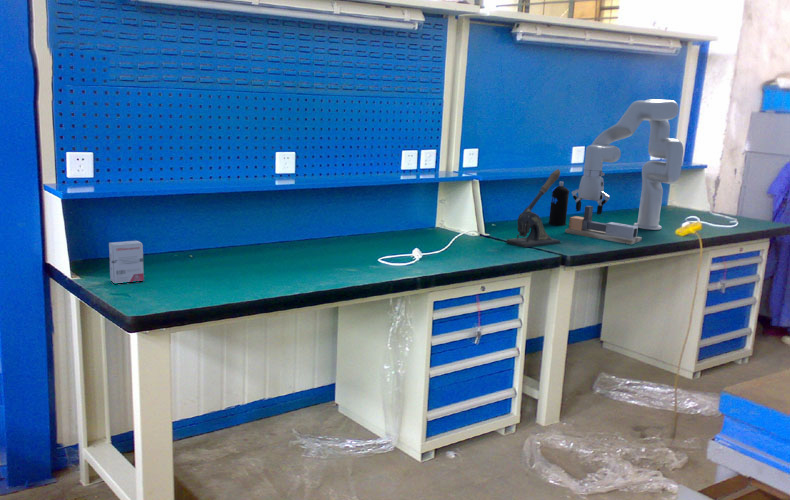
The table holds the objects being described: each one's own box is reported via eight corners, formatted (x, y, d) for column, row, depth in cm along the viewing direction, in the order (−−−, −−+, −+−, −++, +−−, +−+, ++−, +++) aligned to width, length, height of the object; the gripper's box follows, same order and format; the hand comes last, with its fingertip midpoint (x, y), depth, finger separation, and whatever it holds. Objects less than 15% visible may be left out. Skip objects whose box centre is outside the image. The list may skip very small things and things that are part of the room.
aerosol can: (564, 223, 346) (569, 181, 342) (567, 226, 338) (571, 183, 334) (547, 221, 347) (551, 180, 343) (549, 225, 339) (553, 182, 335)
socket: (574, 226, 330) (575, 216, 329) (586, 229, 326) (587, 218, 325) (568, 228, 325) (569, 217, 324) (581, 230, 322) (582, 219, 321)
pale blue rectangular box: (609, 233, 319) (611, 222, 318) (636, 237, 312) (638, 226, 311) (605, 234, 315) (606, 223, 314) (632, 239, 308) (633, 227, 307)
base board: (577, 229, 332) (577, 226, 332) (641, 240, 314) (641, 237, 314) (565, 232, 323) (565, 229, 323) (630, 244, 305) (631, 241, 305)
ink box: (139, 278, 218) (138, 239, 216) (144, 282, 214) (143, 242, 212) (109, 281, 213) (108, 241, 211) (113, 285, 209) (112, 245, 207)
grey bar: (580, 227, 327) (582, 204, 325) (615, 233, 317) (618, 210, 315) (576, 228, 324) (578, 205, 321) (611, 234, 314) (614, 211, 312)
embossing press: (503, 243, 295) (510, 169, 288) (544, 238, 309) (551, 167, 302) (523, 248, 286) (530, 172, 280) (564, 243, 300) (571, 171, 294)
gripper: (615, 175, 315) (610, 214, 319) (577, 171, 326) (574, 208, 330) (608, 176, 310) (603, 216, 314) (570, 172, 320) (566, 210, 324)
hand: (588, 212), depth 322 cm, fingers open, 9 cm apart
